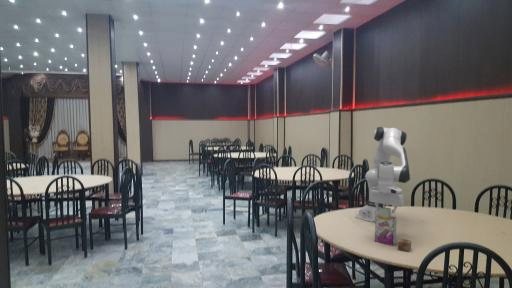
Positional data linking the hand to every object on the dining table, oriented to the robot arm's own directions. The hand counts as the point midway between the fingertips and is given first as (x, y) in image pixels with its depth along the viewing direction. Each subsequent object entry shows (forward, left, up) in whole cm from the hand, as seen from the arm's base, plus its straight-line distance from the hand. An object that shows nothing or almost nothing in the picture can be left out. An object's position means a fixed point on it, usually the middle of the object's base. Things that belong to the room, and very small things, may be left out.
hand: (385, 211), depth 209 cm
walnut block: (+13, -4, -19) cm, 23 cm away
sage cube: (0, 0, -3) cm, 3 cm away
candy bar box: (0, 0, -19) cm, 19 cm away
